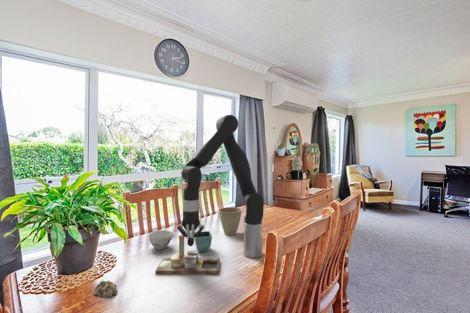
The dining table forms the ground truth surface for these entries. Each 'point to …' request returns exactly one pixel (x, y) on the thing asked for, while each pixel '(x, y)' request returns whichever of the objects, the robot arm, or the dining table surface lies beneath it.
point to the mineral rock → (105, 289)
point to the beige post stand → (179, 259)
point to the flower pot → (203, 241)
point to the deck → (190, 265)
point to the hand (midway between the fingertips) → (190, 245)
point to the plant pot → (230, 219)
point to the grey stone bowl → (160, 239)
